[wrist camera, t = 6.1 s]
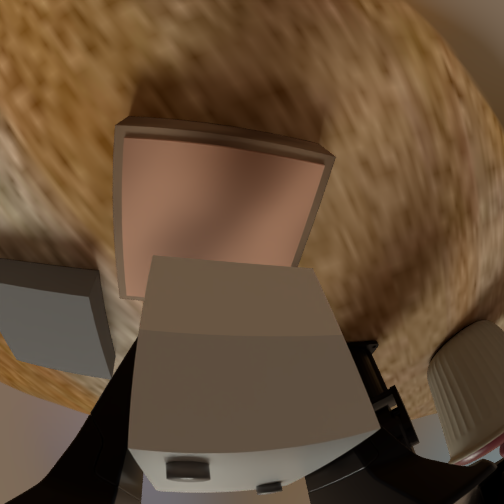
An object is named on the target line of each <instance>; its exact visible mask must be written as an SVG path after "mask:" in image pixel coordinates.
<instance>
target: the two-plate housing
mask: <svg viewBox="0 0 504 504" xmlns="http://www.w3.org/2000/svg"><path fill="white" fill-rule="evenodd" d="M379 429H381V428H380V425H379V422H378V420H377V417H376V415H375V412H374V409H373V407H372V404H371V402H370V399H369V397H368V394H367V392H366V389H365V387H364V384H363V382H362V379H361V377H360V374H359V372H358V370H357V367H356V365H355V362H354V360H353V358H352V355H351V353H350V351H349V348H348V346H347V344H346V341H345V339H344V337H343V334H342V332H341V330H340V327H339V325H338V323H337V321H336V318H335V316H334V314H333V312H332V309H331V307H330V305H329V303H328V301H327V298H326V296H325V294H324V292H323V290H322V287H321V285H320V283H319V281H318V279H317V277H316V275H315V272H314V270H313V268H299V267H286V266H274V265H261V264H249V263H237V262H225V261H213V260H201V259H190V258H178V257H167V256H156V255H153V257H152V261H151V266H150V271H149V276H148V281H147V286H146V292H145V297H144V303H143V309H142V315H141V321H140V327H139V334H138V341H137V348H136V356H135V364H134V372H133V382H132V392H131V403H130V417H129V434H128V449H129V451H130V453H131V454H132V456H133V457H134V459H135V460H136V462H137V463H138V465H139V466H140V468H141V469H142V471H143V472H144V474H145V475H146V477H147V478H148V479H149V481H150V482H151V484H152V485H153V486H154V488H155V489H156V490H157V491H169V492H231V491H245V490H255V489H256V490H257V495H263V494H271V493H276V492H280V491H282V486H285V485H288V484H290V483H292V482H295V481H296V480H298V479H300V478H302V477H304V476H306V475H308V474H310V473H312V472H314V471H315V470H317V469H319V468H321V467H323V466H324V465H326V464H328V463H329V462H331V461H333V460H334V459H336V458H338V457H339V456H341V455H343V454H344V453H346V452H347V451H349V450H350V449H352V448H353V447H355V446H356V445H358V444H359V443H361V442H362V441H364V440H365V439H367V438H368V437H370V436H371V435H372V434H374V433H375V432H376V431H378V430H379Z"/></svg>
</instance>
